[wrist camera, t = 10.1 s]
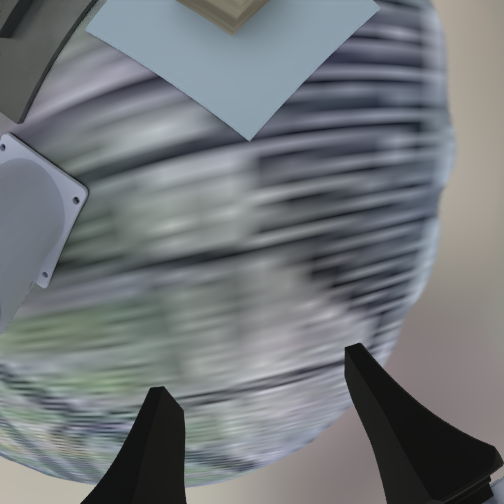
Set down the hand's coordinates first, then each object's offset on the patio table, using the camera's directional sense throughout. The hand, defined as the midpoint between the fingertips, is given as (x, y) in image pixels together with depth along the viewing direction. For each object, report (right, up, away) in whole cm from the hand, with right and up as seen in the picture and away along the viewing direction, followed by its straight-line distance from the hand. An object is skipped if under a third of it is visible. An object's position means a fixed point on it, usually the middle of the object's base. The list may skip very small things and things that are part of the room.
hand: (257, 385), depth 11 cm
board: (-1, +19, +1) cm, 19 cm away
